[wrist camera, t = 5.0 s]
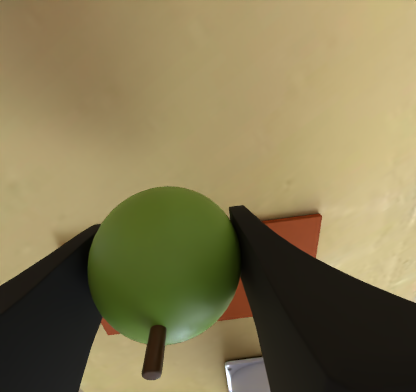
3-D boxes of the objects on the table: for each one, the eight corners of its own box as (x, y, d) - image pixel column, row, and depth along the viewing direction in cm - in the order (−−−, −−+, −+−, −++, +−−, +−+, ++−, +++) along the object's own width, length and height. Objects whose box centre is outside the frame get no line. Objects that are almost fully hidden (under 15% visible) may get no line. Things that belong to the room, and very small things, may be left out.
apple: (232, 250, 12) (269, 412, 6) (137, 263, 12) (78, 436, 6) (224, 157, 9) (275, 273, 3) (104, 173, 9) (-51, 315, 3)
